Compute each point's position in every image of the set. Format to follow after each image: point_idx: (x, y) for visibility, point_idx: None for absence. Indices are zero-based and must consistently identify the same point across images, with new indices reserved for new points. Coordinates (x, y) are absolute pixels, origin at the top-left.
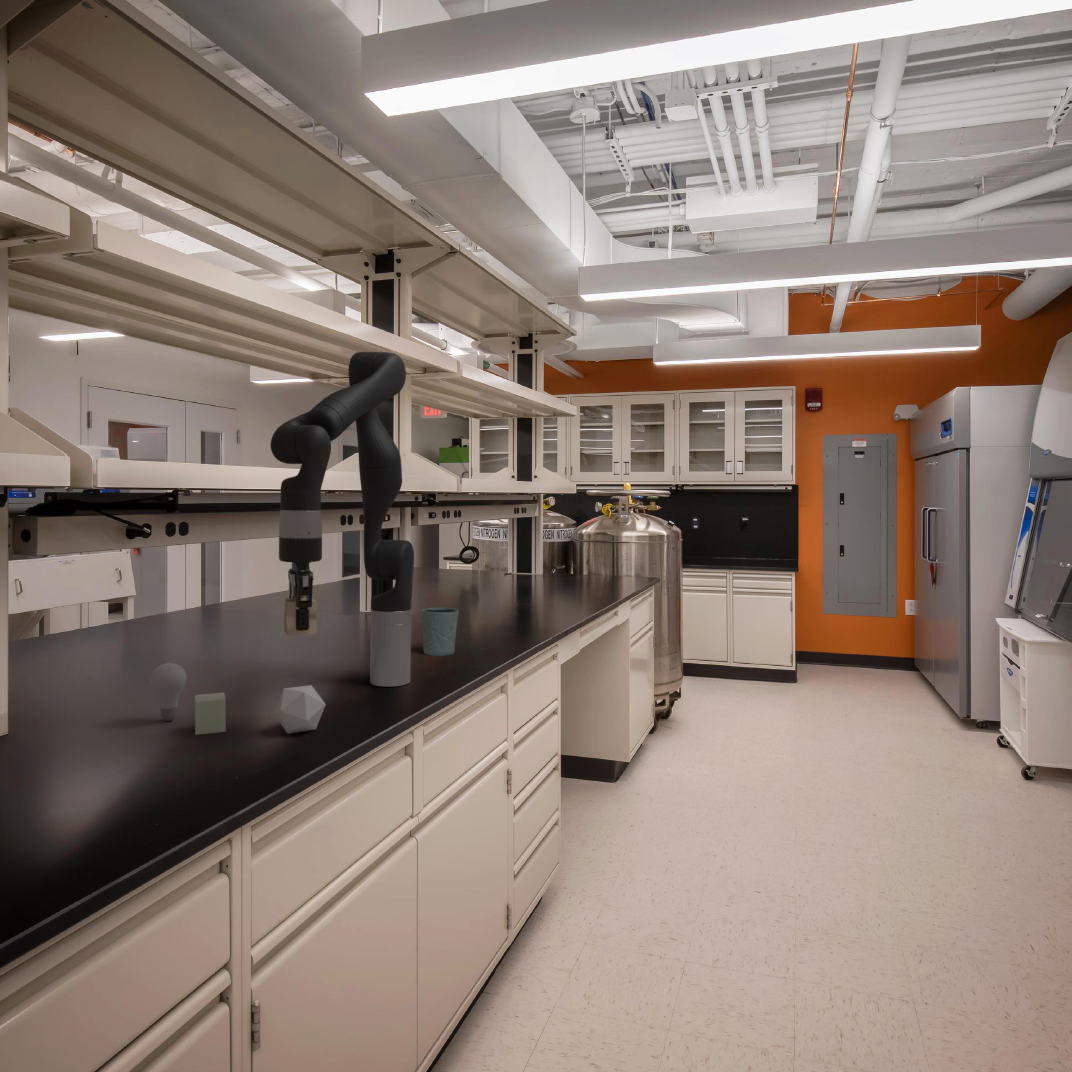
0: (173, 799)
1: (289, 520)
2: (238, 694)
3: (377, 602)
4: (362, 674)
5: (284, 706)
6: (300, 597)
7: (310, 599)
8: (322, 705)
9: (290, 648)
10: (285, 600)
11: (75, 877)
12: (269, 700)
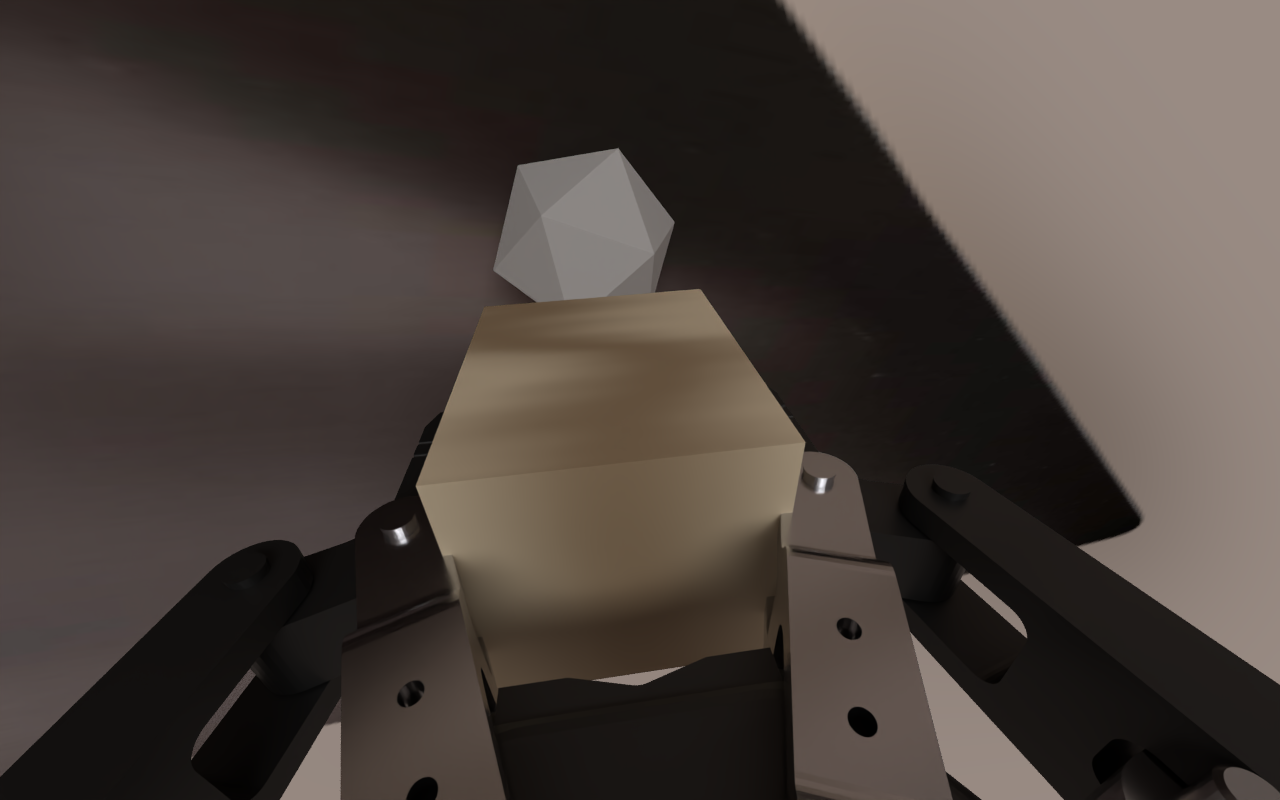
0: (914, 458)
1: None
2: (131, 406)
3: None
4: None
5: None
6: (1023, 638)
7: (1043, 540)
8: (626, 164)
9: None
10: (585, 673)
11: (1071, 512)
12: (206, 312)
